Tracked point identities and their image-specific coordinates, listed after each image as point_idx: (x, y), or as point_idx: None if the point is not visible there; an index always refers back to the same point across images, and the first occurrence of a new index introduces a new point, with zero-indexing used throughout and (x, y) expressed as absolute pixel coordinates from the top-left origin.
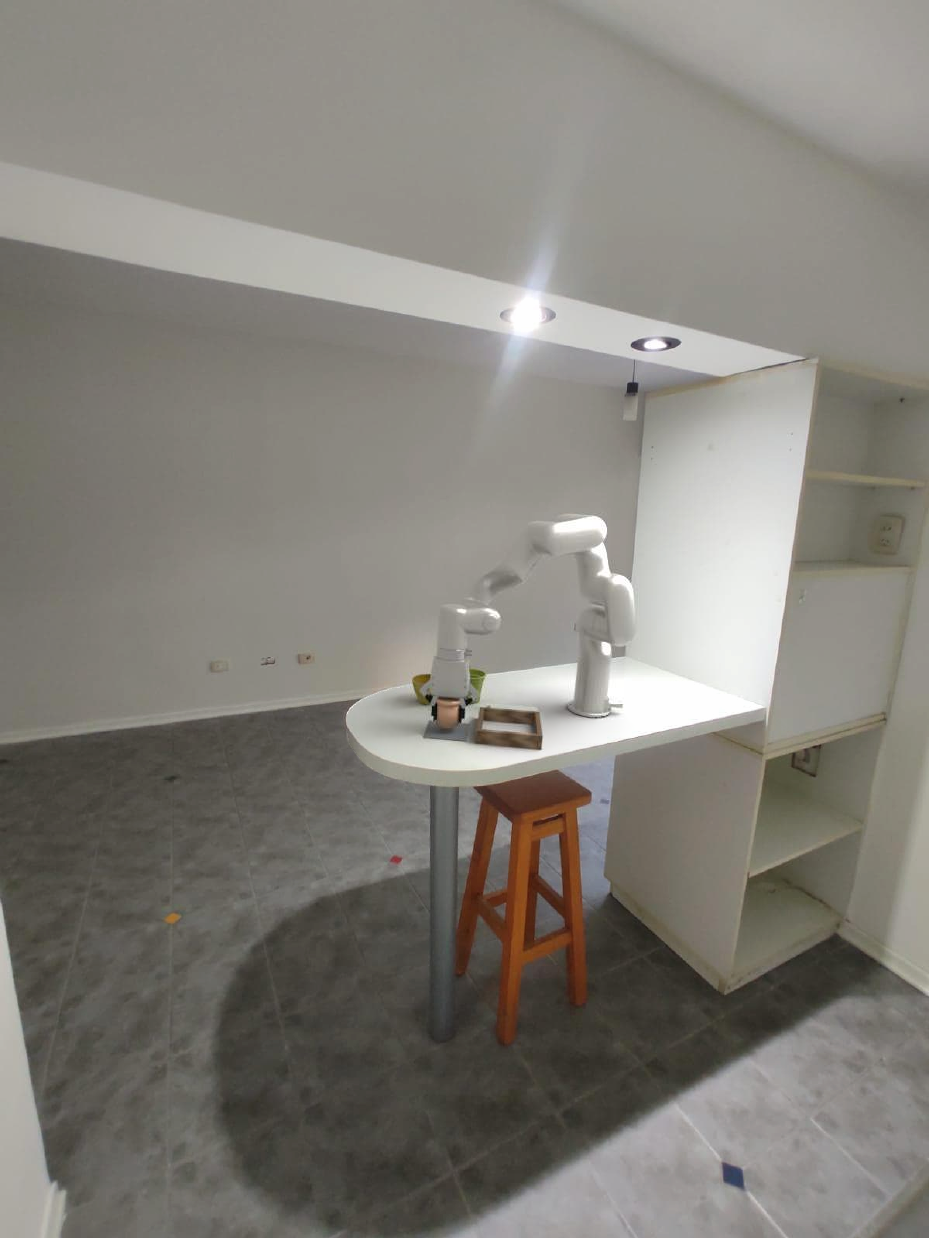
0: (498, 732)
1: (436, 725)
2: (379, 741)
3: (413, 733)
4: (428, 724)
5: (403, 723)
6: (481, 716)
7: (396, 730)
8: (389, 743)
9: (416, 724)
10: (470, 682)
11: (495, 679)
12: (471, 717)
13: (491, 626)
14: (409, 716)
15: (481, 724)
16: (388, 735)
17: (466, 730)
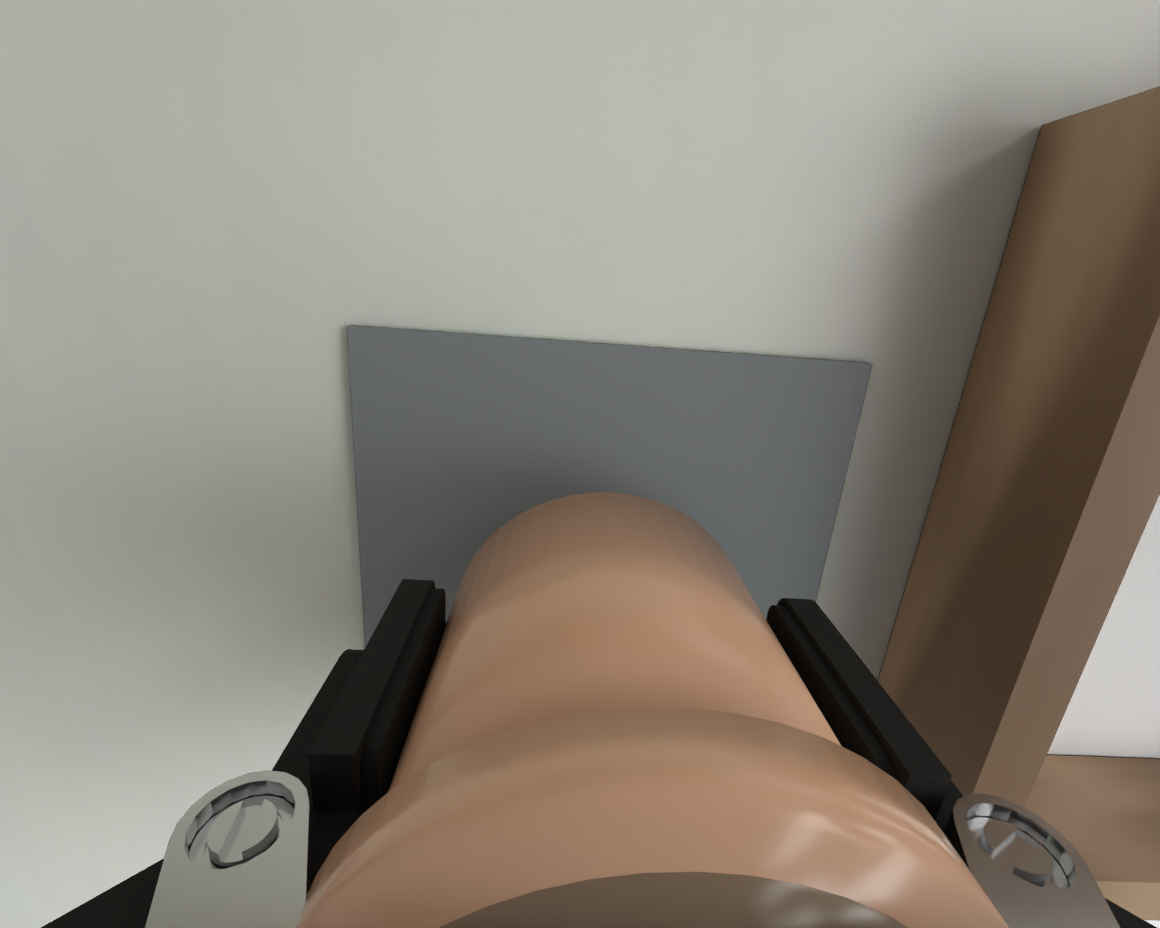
0: (1156, 919)
1: (461, 472)
2: (17, 847)
3: (257, 672)
4: (361, 460)
5: (54, 447)
6: (1117, 538)
7: (60, 633)
8: (117, 865)
9: (218, 453)
10: None
11: None
12: (936, 91)
13: None
14: (32, 193)
15: (1030, 776)
16: (36, 741)
17: (804, 555)
